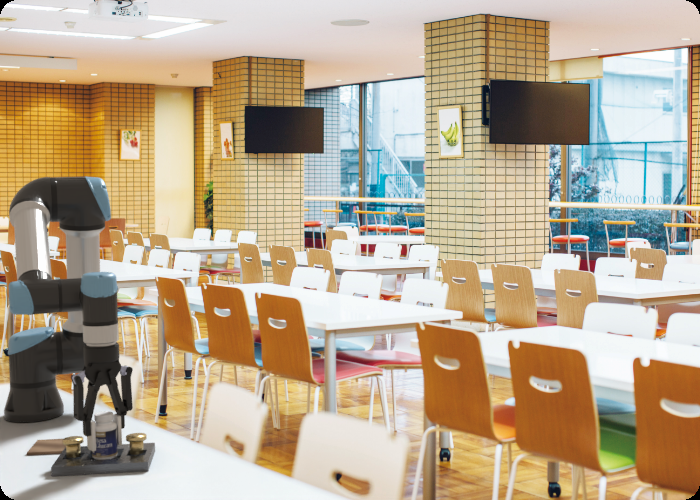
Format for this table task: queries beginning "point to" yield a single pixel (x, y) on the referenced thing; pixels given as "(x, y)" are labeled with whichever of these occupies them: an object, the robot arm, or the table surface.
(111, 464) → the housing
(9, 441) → the table surface
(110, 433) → the pill bottle
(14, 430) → the table surface
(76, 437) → the plunger
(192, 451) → the table surface
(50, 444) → the coaster
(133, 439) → the plunger
